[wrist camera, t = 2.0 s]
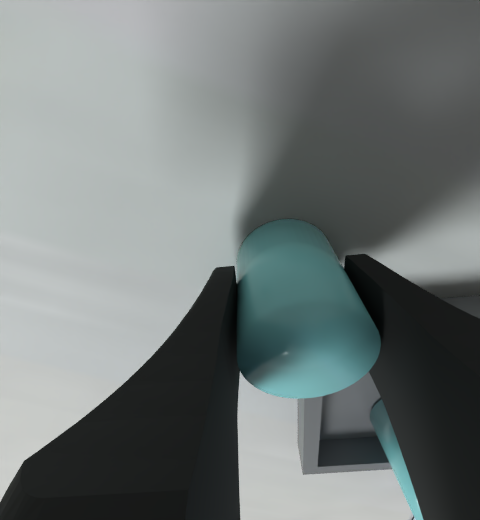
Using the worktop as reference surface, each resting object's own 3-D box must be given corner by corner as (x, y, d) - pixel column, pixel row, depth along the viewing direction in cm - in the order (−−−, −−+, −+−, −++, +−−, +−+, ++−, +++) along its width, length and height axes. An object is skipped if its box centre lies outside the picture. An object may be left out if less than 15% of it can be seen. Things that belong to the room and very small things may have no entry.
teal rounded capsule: (329, 295, 12) (370, 393, 8) (241, 303, 12) (243, 402, 9) (335, 213, 10) (392, 294, 6) (231, 224, 10) (228, 308, 7)
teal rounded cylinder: (424, 430, 17) (484, 528, 13) (362, 432, 17) (405, 532, 13) (447, 387, 15) (523, 486, 11) (379, 389, 15) (433, 491, 11)
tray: (474, 423, 18) (501, 462, 16) (296, 435, 19) (302, 474, 17) (556, 279, 12) (612, 315, 11) (295, 302, 13) (305, 340, 11)
